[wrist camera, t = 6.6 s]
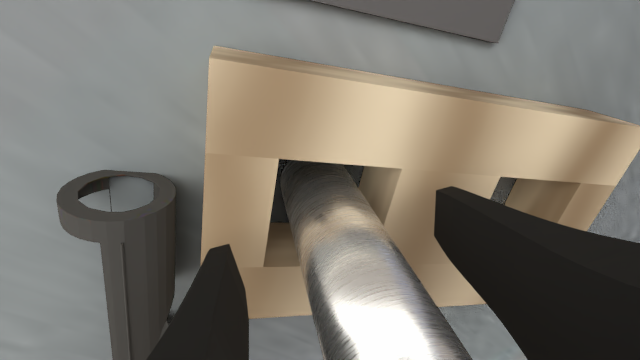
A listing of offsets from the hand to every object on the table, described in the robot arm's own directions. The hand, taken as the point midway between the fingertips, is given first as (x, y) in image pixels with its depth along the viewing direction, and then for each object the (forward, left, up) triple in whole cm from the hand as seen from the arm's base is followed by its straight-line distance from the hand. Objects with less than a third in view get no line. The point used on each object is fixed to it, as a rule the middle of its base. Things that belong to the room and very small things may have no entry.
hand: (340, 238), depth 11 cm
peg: (0, 0, -4) cm, 4 cm away
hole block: (-4, 0, -4) cm, 6 cm away
